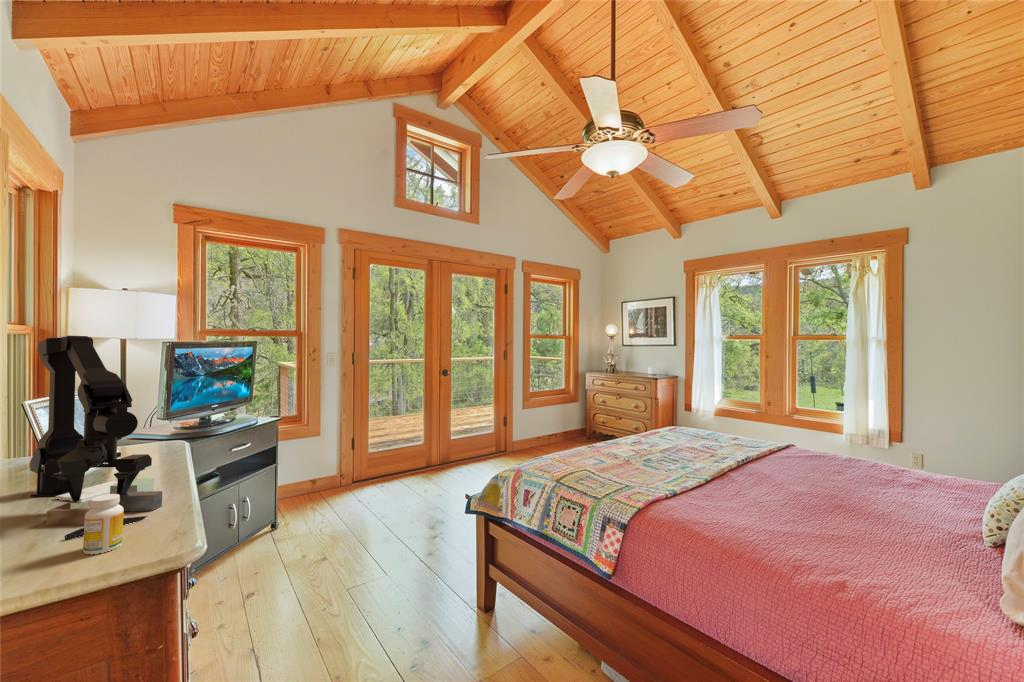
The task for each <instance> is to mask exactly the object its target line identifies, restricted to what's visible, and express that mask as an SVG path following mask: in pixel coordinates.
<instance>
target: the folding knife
mask: <svg viewBox="0 0 1024 682" xmlns="http://www.w3.org/2000/svg"><path fill="white" fill-rule="evenodd" d="M148 516H149V515H143V516H133V517H123V525H124V526H126V525H125V524H128V525H130V524H129V523H132V524H134V523H133V522H136V523H138V522H137V521H139V522H141V521H143V520H145V519H146V518H147V517H148ZM140 520H141V521H140ZM83 535H84V527H81V528H79V529H76V530H74V531H71V532H70V533H67V534H64V541H65V540H66V541H69V540H73V539H76V538H75V537H78V538H80V537H79V536H81V537H84V536H83ZM72 538H73V539H72ZM68 539H69V540H68Z"/></svg>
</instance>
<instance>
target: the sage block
mask: <svg viewBox="0 0 1024 682" xmlns="http://www.w3.org/2000/svg"><path fill="white" fill-rule="evenodd" d="M154 484H155V477H149V478H148V477H147V478H140V477H139V478H135V479H134V481H133V482H132V484H131V486H130V487H129V489H128V491H127V493H128V492H144V491H155V489H154V487H155V485H154ZM110 494H117V483H116V484H114V485H111V486H110Z"/></svg>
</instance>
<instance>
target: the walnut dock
mask: <svg viewBox="0 0 1024 682" xmlns="http://www.w3.org/2000/svg"><path fill="white" fill-rule="evenodd" d="M71 503H72V502H67V503H63V504H61V505H58V506H55V507H54V508H51V509H49V510H47V511H46V526H67V525H69V526H70V525H72V524H76V525H84V522H85V514H86V513H87V512H88V511H89V510H91V509H92V508H91V507H89V508H71V507H72V505H71Z"/></svg>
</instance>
